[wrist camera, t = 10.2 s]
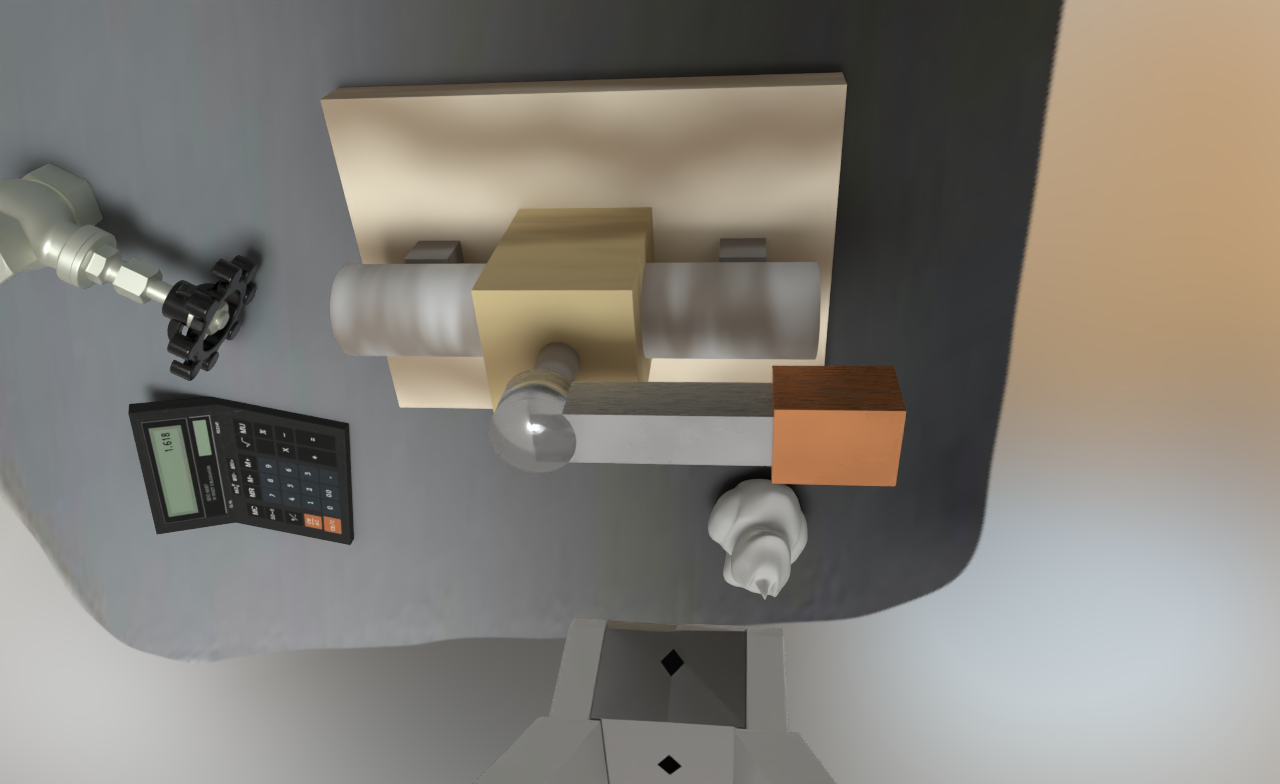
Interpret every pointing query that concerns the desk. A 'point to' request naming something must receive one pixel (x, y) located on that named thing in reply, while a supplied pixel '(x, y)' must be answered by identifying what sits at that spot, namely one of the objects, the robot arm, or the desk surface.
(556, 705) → the robot arm
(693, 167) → the valve stand
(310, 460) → the calculator
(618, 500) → the desk surface
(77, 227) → the valve
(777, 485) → the white meringue swirl
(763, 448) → the valve lever
